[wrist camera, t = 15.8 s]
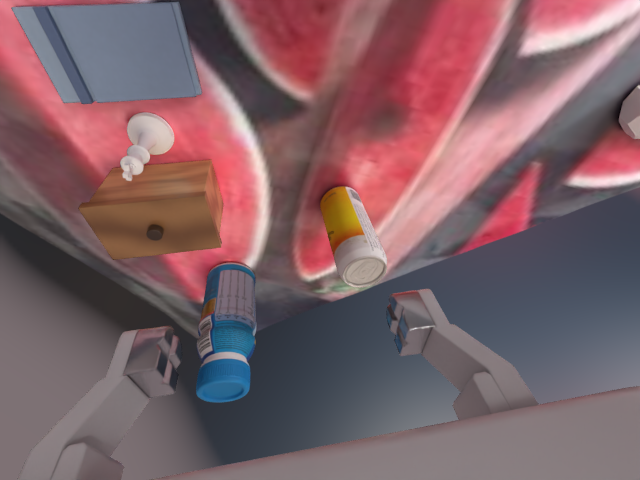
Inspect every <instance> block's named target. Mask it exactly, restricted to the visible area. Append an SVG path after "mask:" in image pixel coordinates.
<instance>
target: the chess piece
mask: <svg viewBox="0 0 640 480" xmlns="http://www.w3.org/2000/svg"><path fill="white" fill-rule="evenodd" d="M127 134H128V137H129V139H130V141H131V142H132V143H133V144H134V145H132V146H130V147H129V148H128V149H127V156H125V157H123V158H122V159H121V161H120V165H121V168H122V169H123V170H124V172H123V174H122V175H123V178H126V180H127V181H131V180H132V175H138V174H140V173H142V171H143V168H144V166H143V164H146V163H147V162H149V160H150V154H152V155H160V154H164V153H166V152H167V151H168V150H169V149H170V148H171V147H172V146H173V144H174V133H173V130H172V128H171V126H170V125H169V124H168V123H167V122H166V121H165V120H164V119H163V118H161V117H160V116H158V115H156V114H153V113H148V112H142V113H138V114H135V115H134V116H132V117H131V119H130V120H129V122H128V126H127Z"/></svg>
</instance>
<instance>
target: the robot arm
mask: <svg viewBox="0 0 640 480" xmlns="http://www.w3.org/2000/svg"><path fill="white" fill-rule="evenodd" d="M389 302H390V305H389V306H388V307H387V311H386V315H387V321H388V325H389V328H390V330H391V331H392V332H393V333H395V334H396V335H395V339H394V341H395V344H396V346H397V349H398V352H399V354H400V356H404V355H412V354H419V353H422V356H424V357H425V358H426V359H427V360H428V361H429V362H430V363H431V364H432V365H433V366H434V367H435V368H436V369H437V370H438V371H439V372H440V373H442V375H444V376H445V377H446V378H447V379H448V380H449V381H450V382H451V383H452V384H453V385H454V386H455V387H456V388H457V389H458V390H459V391H460V392H461V393H460V394H459V395H458V397H457V398H456V400H455V401H454V403H453V408H454V410H455V412H456V414H457V417H458V419H459V420H457V421H451V422H447V423H441V424H436V425H431V426H426V427H420V428H415V429H410V430H405V431H400V432H395V433H389V434H384V435H379V436H374V437H369V438H363V439H358V440H353V441H348V442H343V443H337V444H332V445H327V446H322V447H317V448H312V449H307V450H301V451H297V452H291V453H286V454H280V455H276V456H270V457H265V458H260V459H255V460H250V461H245V462H240V463H234V464H229V465H224V466H219V467H213V468H208V469H203V470H198V471H192V472H187V473H182V474H177V475H172V476H166V477H162V478H156V479H151V480H640V386H636V387H628V388H622V389H617V390H612V391H607V392H602V393H597V394H591V395H587V396H581V397H576V398H571V399H566V400H560V401H555V402H550V403H545V404H540V405H539V404H538V403H537V401H536V400H535V398H534V396H533V395H532V393H531V392H530V390H529V389H528V387H527V386H526V384H525V383H524V381H523V380H522V378H521V376H520V375H519V373H518V372H517V370H516V369H515V368H514V366H513V365H512V364H510V363H509V362H507V361H506V360H504V359H503V358H502V357H500V356H499V355H497V354H496V353H494V352H493V351H492V350H490V349H489V348H487V347H486V346H484V345H483V344H481V343H480V342H478V341H477V340H476V339H474V338H473V337H471V336H470V335H469V334H467V333H466V332H464V331H463V330H461V329H460V328H458V327H457V326H456V325H454V324H453V325H450V324H449V322H448V320H447V318H446V316H445V315H444V313H443V311H442V309H441V307H440V306H439V304H438V302H437V300H436V298H435V297H434V295H433V293H432V291H431V290H429V289H423V290H418V291H415V290H414V291H408V292H402V293H395V294H391V295H390V297H389ZM173 334H174V330H173V328H172V327H171V326H165V327H157V328H149V329H142V330H133V331H126V332H123V334H122V335H121V336H120V339H119V341H118V344H117V347H116V349H115V352H114V355H113V357H112V360H111V363H110V366H109V368H108V371H107V374H106V376H105V379H100V380H99V381H98V382H97V383H96V384H95V385H94V386H93V387H92V388H91V389H90V390H89V391H88V392H87V394H85V395H84V396H83V397H82V398H81V399H80V400H79V402H77V403H76V404H75V406H73V408H72V409H71V410H70V411H69V412H68V413H67V414H66V415H65V416H64V417H63V418H62V419H61V420H60V421H59V422H58V423H57V424H56V425H55V426H54V427H53V428H52V429H51V430H50V431H49V432H48V433H47V434H46V435H45V436H44V437H43V438H42V439H41V440H40V441H39V442H38V443H37V444H36V445H35V446H34V447H33V449H31V450H30V452H29V455H28V457H27V459H26V461H25V463H24V465H23V467H22V470H21V472H20V474H19V476H18V478H17V480H121V477H122V473H123V469H124V466H123V465H122V464H121V463H120V462H118V461H117V460H114V459H113V458H111V457H110V456H111V455H112V453H113V452H114V450H115V449H116V448H117V446H118V445H119V443H120V442H121V440H122V439H123V437H124V436H125V435H126V433H127V432H128V430H129V429H130V427H131V426H132V425H133V423H134V422H135V421H136V419H137V418H138V416H139V415H140V413H141V412H142V411H143V409H144V407H145V406H146V405H147V403H148V402H149V400H150V398H153V397H158V396H163V395H169V394H174V393H175V391H176V385H177V380H178V373H177V372H176V370H175V369H176V368H177V366H178V365H179V364H180V363H181V359H182V344H181V341H180V339H179V338H178V337H176V336H174V335H173Z"/></svg>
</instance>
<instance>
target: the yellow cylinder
mask: <svg viewBox="0 0 640 480" xmlns="http://www.w3.org/2000/svg"><path fill="white" fill-rule="evenodd" d="M320 208H321V212H322V216H323V219H324V223H325V227H326V230H327V234H328V238H329V241H330V245H331V249H332V252H333V256H334V260H335V263H336V267H337V271H338V274H339V276H340V277H341V278H342V279H343V280H344V281H345V283H346V284H348V285H349V286H352V287H367V286H370V285H372V284H375V283H376V282H378V281H379V280H380V279H382V278H383V276H384V275H385V273H386V270H387V266H386V265H387V257H386V254H385V252H384V250H383V248H382V246H381V244H380V241H379V239H378V237H377V235H376V233H375V230H374V228H373V226H372V224H371V222H370V219H369V217H368V215H367V213H366V211H365V208H364V206H363V204H362V202H361V200H360V197H359V195H358V193H357V192H356V191H355V190H354V189H352V188H350V187H343V186H342V187H336V188H333V189H331V190H330V191H328V192H327V193H326V194H325V195H324V196H323V198H322V200H321V203H320Z"/></svg>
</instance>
